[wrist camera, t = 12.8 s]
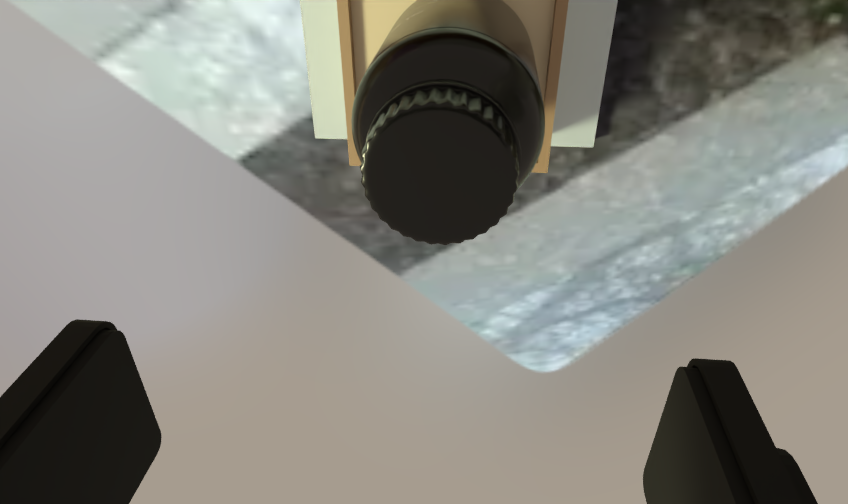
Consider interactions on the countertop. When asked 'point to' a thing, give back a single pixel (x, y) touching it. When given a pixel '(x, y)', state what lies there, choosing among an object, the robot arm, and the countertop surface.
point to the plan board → (570, 78)
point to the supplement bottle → (449, 119)
